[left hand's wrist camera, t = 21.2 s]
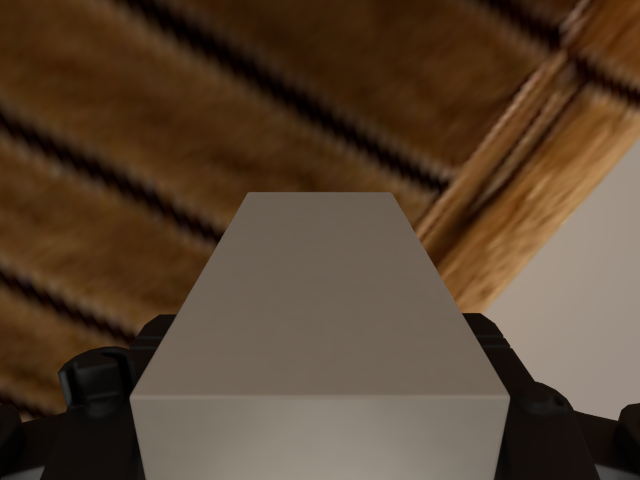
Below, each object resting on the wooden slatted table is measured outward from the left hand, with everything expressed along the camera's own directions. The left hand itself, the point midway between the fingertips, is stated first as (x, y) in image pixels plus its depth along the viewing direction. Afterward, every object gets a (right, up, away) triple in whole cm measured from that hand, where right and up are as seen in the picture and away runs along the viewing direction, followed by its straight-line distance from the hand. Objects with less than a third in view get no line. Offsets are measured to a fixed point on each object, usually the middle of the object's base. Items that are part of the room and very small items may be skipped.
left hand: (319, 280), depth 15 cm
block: (0, +1, +1) cm, 1 cm away
